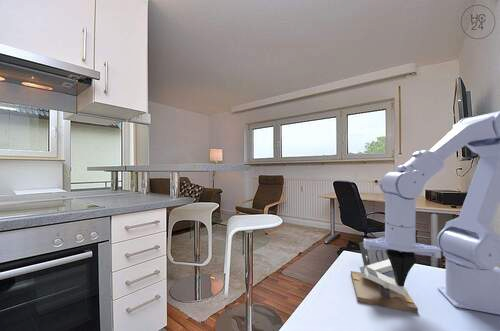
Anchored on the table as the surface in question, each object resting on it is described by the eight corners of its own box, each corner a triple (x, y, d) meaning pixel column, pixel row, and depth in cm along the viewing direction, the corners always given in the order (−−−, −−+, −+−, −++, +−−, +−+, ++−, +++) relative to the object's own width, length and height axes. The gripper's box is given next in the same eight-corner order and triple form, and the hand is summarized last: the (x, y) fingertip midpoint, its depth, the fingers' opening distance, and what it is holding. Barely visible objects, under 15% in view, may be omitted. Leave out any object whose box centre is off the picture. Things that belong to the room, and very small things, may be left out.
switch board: (397, 282, 58) (397, 270, 58) (417, 313, 45) (417, 298, 45) (350, 274, 62) (350, 263, 62) (357, 301, 49) (357, 287, 49)
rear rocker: (392, 264, 57) (389, 258, 57) (397, 270, 53) (393, 263, 54) (362, 272, 59) (359, 267, 59) (364, 279, 56) (361, 273, 56)
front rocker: (399, 288, 51) (402, 282, 50) (404, 297, 47) (407, 290, 47) (363, 272, 53) (366, 266, 53) (366, 279, 50) (369, 272, 50)
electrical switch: (375, 276, 61) (372, 242, 62) (359, 270, 65) (356, 238, 66) (395, 270, 65) (392, 238, 66) (378, 264, 69) (376, 235, 70)
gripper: (430, 223, 51) (430, 281, 50) (361, 217, 55) (361, 270, 55) (446, 231, 44) (446, 298, 44) (366, 224, 49) (366, 284, 49)
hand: (399, 283), depth 49 cm, fingers closed
